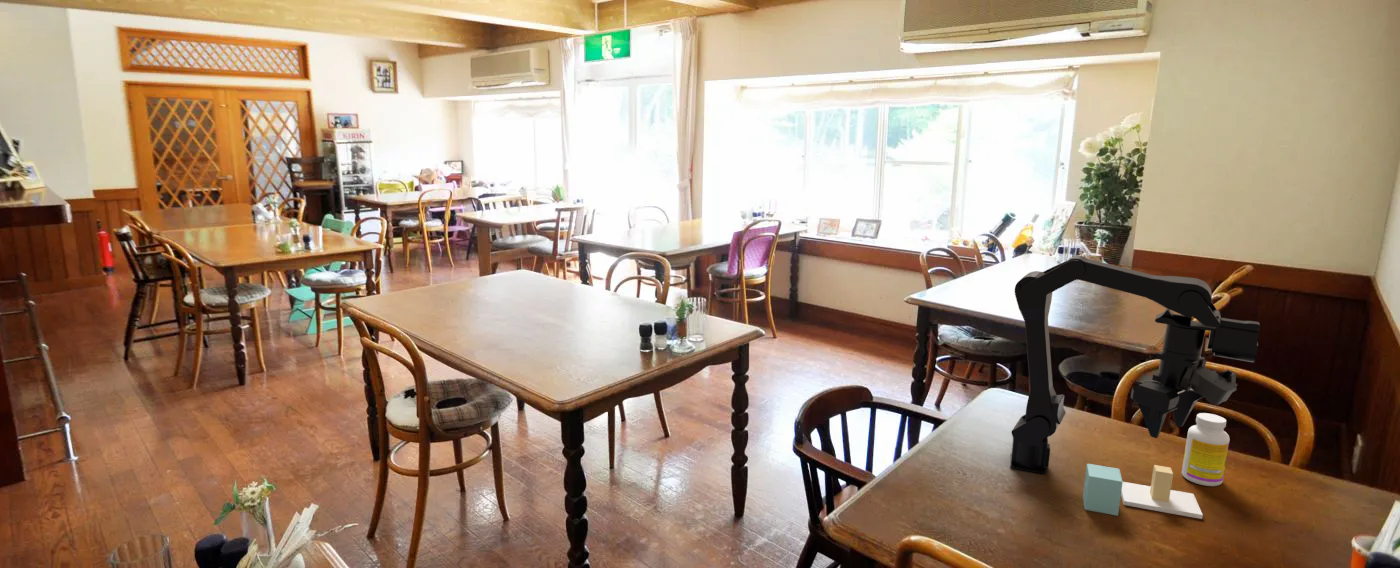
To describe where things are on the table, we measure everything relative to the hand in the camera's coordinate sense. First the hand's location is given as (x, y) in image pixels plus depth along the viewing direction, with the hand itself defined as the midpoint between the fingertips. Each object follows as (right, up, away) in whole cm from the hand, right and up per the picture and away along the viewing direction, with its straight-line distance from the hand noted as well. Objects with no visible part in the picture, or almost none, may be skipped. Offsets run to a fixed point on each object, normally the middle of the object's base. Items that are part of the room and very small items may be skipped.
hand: (1166, 431), depth 131 cm
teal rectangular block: (-12, -13, 0) cm, 18 cm away
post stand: (-1, -13, +1) cm, 13 cm away
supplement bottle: (+13, -11, +10) cm, 20 cm away
